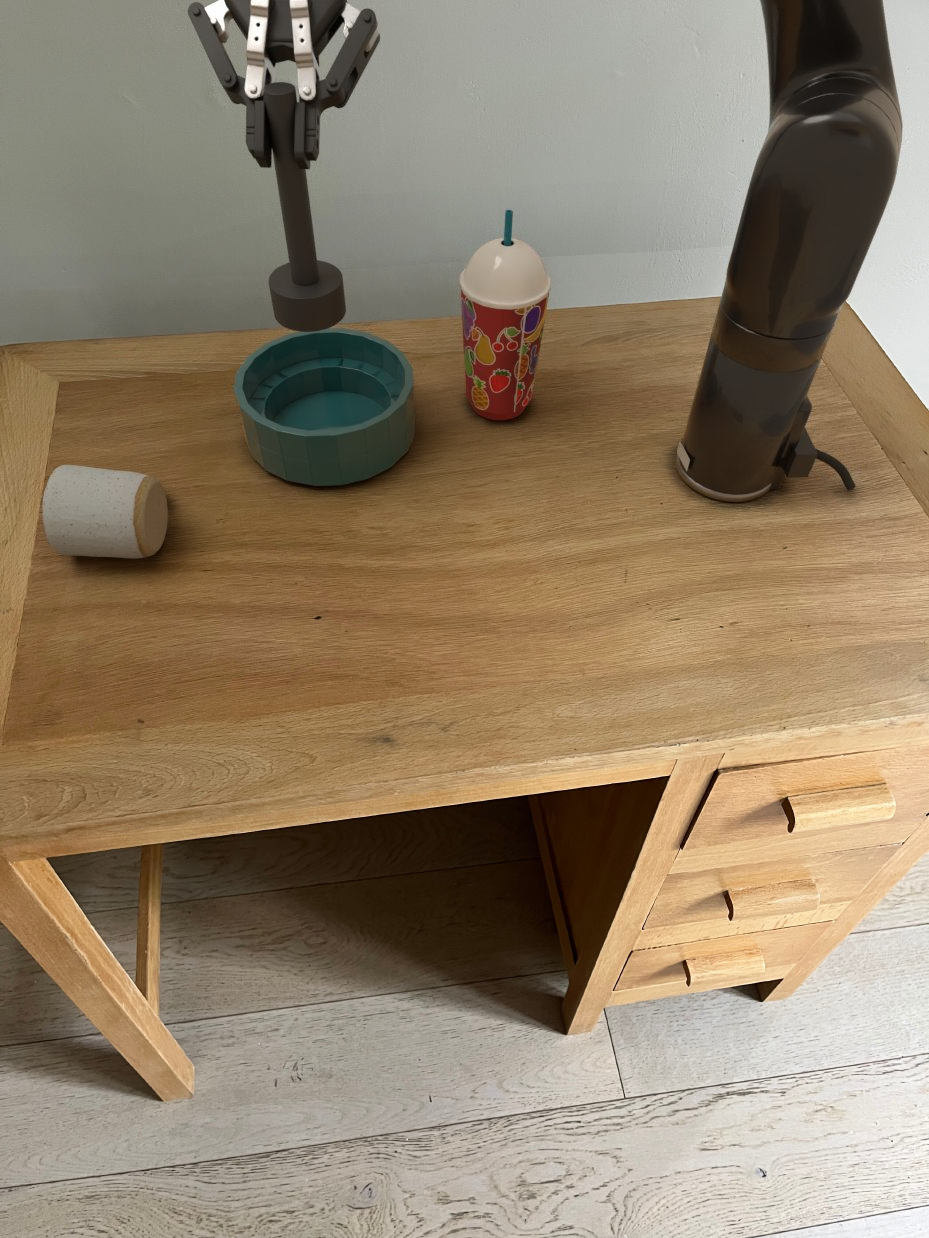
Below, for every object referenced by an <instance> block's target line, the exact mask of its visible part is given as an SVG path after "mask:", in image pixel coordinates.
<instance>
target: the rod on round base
mask: <svg viewBox="0 0 929 1238" xmlns="http://www.w3.org/2000/svg"><path fill="white" fill-rule="evenodd" d="M263 93H264V99H265V106H266V112H267V119H268V125H269V132H270V139H271V145H272V157H273V164H274V170H275V171H274V172H275V177H276V184H277V191H278V197H279V204H280V210H281V216H282V223H283V230H284V237H285V243H286V249H287V256H288V262H286V263H284V264H282V265H280V266H277V267H276V268H275V269H274V270H273V271H272V272H271V273H270V274H269V277H268V287H269V294H270V299H271V305H272V310H273V316H274V319H275V321H276V322H277V323H278V324H279V325H281V327H283V328H286V329H287V330H291V331H294V332H314V331H320V330H324V329H327V328H333V327H334V326H336V325H337V324H339V323H340V322H341V321H342V320H343V319H344V318H345V316H346V313H347V307H346V297H345V287H344V278H343V277H344V276H343V273H342V271H341V270H340V269H339V267H337V266H336V265H334V264H332V263H330V262H327V261H324V260H319V259H318V257H317V251H316V250H317V248H316V241H315V232H314V226H313V217H312V216H313V215H312V209H311V200H310V194H309V192H310V191H309V186H308V185H309V184H308V177H307V169H299V167H298V165H297V163H296V161H295V157H294V137H295V102H298V98H297V90H296V86H295V85H294V83H290V82H285V81H275V82H274V83H270V84H268V85H266V86H264V88H263Z"/></svg>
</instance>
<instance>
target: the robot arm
mask: <svg viewBox="0 0 929 1238" xmlns="http://www.w3.org/2000/svg"><path fill="white" fill-rule="evenodd" d="M759 2H760V3H759V4H760V7H761V12H762V17H763V24H764V31H765V32H764V33H765V38H766V51H767V53H766V55H767V66H768V67H767V68H768V88H769V91H768V92H769V93H768V94H769V116H768V117H769V118H768V119H769V120H768V130H767V133H766V136H765V139H764V141H763V143H762V146H761V149H760V150H759V153H758V156H757V158H756V162H755V165H754V166H753V171H752V174H751V177H750V180H749V185H748V187H747V192H746V195H745V200H744V204H743V207H742V209H741V215H740V219H739V223H738V226H737V230H736V234H735V237H734V241H733V245H732V248H731V249H732V250H731V252H730V257H729V260H728V263H727V268H726V276H725V280H724V286H723V289H722V293H721V298H720V301H719V304H718V307H717V311H716V315H715V318H714V322H713V326H712V329H711V334H710V337H709V341H708V344H707V348H706V352H705V356H704V360H703V362H702V366H701V370H700V373H699V378H698V381H697V385H696V389H695V392H694V396H693V398H692V403H691V406H690V410H689V413H688V418H687V421H686V425H685V429H684V432H683V436H682V438H681V440H680V441H679V443H678V446H677V450H676V454H677V455H676V458H675V468H676V470H677V474H678V475H679V477H680V478H681V480H682V481H683V482H684V483H685V484H686V485H687V486H689V487H690V488H691V489H692V490H694V491H695V492H697V493H699V494H701V495H703V496H705V497H707V498H709V499H710V498H711V499H714V500H718V501H722V502H730V503H731V502H732V503H741V502H748V501H752V500H755V499H758V498H760V497H762V496H764V495H765V494H767V492H769V490H779V489H781V487H782V484H783V482H784V479H785V477H786V478H787V479H798V478H799V479H801V478H808V477H809V476H810V474H811V472H812V469H813V467H814V464H815V462H816V460H818V461H820V462H822V463H824V464H826V465H828V466H829V467H830V468H832V469H833V470H834V471H835V472H836V473H837V475H838V476H839V478H840V479H841V482H842V484H843V486H844V487H845V489H846V491H847V492H851V491H852V490H855V488H856V486H857V485H856V483H855V481H854V480H853V479H854V478H853V477H852V475H851V473H850V472H849V470H848V468H847V467H846V466H845V465H844V464H843V463H842V462H841V461H840V460H839V459H838V458H836V457H835V456H833V455H831V454H829V453H827V452H825V451H822V450H820V449H818V448H816V447H815V445H814V443H813V441H812V439H811V437H810V435H809V433H808V430H807V428H806V426H807V423H808V420H809V417H810V416H811V413H812V410H813V404H812V402H811V399H810V398H809V396H808V394H809V391H810V389H811V386H812V384H813V381H814V379H815V377H816V374H817V371H818V368H819V366H820V364H821V361H822V359H823V356H824V353H825V351H826V349H827V345H828V343H829V341H830V338H831V335H832V333H833V330H834V328H835V326H836V323H837V320H838V318H839V316H840V313H841V312H842V311H841V310H842V308H843V306H844V304H845V303H846V302H847V300H849V299H848V298H849V297H850V295H851V294H852V290H853V289H854V286H855V283H856V281H857V278H858V276H859V274H860V271H861V269H862V266H863V264H864V262H865V260H866V256H867V255H868V252H869V250H870V247H871V245H872V243H873V241H874V238H875V235H876V233H877V230H878V228H879V225H880V223H881V221H882V218H883V215H884V214H885V210H886V208H887V206H888V203H889V200H890V197H891V195H892V192H893V188H894V185H895V182H896V177H897V173H898V166H899V161H900V154H901V147H902V143H903V129H904V128H903V126H904V125H903V123H904V122H903V116H902V111H901V105H900V100H899V95H898V89H897V84H896V83H897V82H896V77H895V72H894V67H893V63H892V62H893V61H892V55H891V48H890V42H889V36H888V28H887V22H886V21H887V19H886V14H885V13H886V12H885V6H884V0H759ZM187 15H188V17H189V20H190V22H191V24H192V26H193V28H194V31H195V32H196V34H197V36H198V39H199V40H200V42H201V45H202V47H203V49H204V51H205V54H206V55H207V58H208V61H209V62H210V65H211V66H212V69H213V70H214V73H215V75H216V77H217V79H218V81H219V84H220V85H221V87H222V89H223V91H225V93H226V95H227V97H228V98H229V100H230V102H231V103H232V104H235V105H243V106H245V109H246V110H245V145H246V147H247V151H248V152H249V153H250V155H251V156H252V158H253V159H254V160H255V161H256V163H257V164H258V166H259V167H260V168H263V169H271V168H272V161H273V159H272V157H273V152H272V145H271V139H270V132H269V125H268V119H267V112H266V106H265V99H264V93H263V88H264V86H266V85H268V84H270V83H275V82H277V75H278V65H279V63H283V62H286V61H287V62H288V61H289V62H292V63H295V66H296V75H297V90H298V101H297V102H295V137H294V157H295V161H296V163H297V165H298V167H299V169H306V170H310V169H311V162H317V160H318V158H319V155H320V138H321V137H320V136H321V133H320V132H321V116H322V114H323V112H324V111H326V110H327V109H330V108H333V107H334V108H336V109H342V108H345V107H346V106H347V104H348V101H349V100H350V99H351V96H352V94H353V92H354V91H355V89H356V87H357V85H358V83H359V81H360V79H361V78H362V76H363V74H364V72H365V70H366V68H367V66H368V64H369V62H370V61H371V59H372V57H373V56H374V53H375V52H376V50H377V47H378V45H379V43H380V42H381V33H380V27H379V24H378V19H377V15H376V13H375V11H374V10H373V9H371V8H363V9H362V10H360V9H359V8H357V7H355V6H354V5H352V4H350V3H348V0H217V1H215V2H213V3H210V4H209V5H207V6H204V4H202V3H201V2H199V1H198V2H197V1H195V2H192V3H191V4H189V6H188V8H187ZM232 19H233V21H234V22H235V24H236V26H237V27H238V29H239V30H240V32H241V33H242V35H243V37H244V38H245V40H246V41H247V42H246V53H245V55H246V72H245V77H243V76H240V75H238V74H237V73H238V72H237V71H236V69H235V67H234V64H233V63H232V60H231V58H230V56H229V53H228V52H227V49H226V48H225V45H224V44H226V43H227V42H228V40H229V37H230V30H229V24H230V21H231V20H232ZM343 24H344V25H343ZM342 25H343V27H342ZM341 27H342V33H343V37H344V41H343V44H342V46H340V47H341V48H340V50H339V51H338V53H337V55H336V57H335V59H334V61H333V63H332V64H331V67H330V68H329V70H328V71H327V74H326V76H325V78H324V79H322V67H321V54H322V53H323V51H325V49H326V47H327V46H328V45H329V43H331V40H332V39H333V38H334V36H335V35H336V33H337V32H338V31H339V29H340V28H341Z"/></svg>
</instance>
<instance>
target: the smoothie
mask: <svg viewBox="0 0 929 1238" xmlns="http://www.w3.org/2000/svg"><path fill="white" fill-rule="evenodd" d="M513 219H514V211H513V210H512V209H506V210H505V212H504V229H503V237H498V238H494V239H492V240H491V239H490V240H489V241H487V242H485V243H484V244H482V245H481V246H479V248H478V249H476V250H475V252H474V253H473V254H472V256H471V257H470V259H469V260H468V262H467V264H466V266H465V267H464V269H463V270H462V271H461V273H460V274H459V281H458V283H459V288H460V305H461V307H460V308H461V326H462V345H463V346H462V347H463V362H464V363H463V364H464V365H463V366H464V381H465V397H466V399H467V401H468V402H469V403H470V406H471V407H472V409H473V411H474V412H475V413H476V414H477V415H479V416H481V417H483V418H484V419H487V420H492V421H506V420H507V421H508V420H512V419H514V418H517V417H519V416H520V415H521V414H523V412H524V411H525V409H526V407H527V406H528V405H529V404H530V403H531V400H532V398H533V395H534V394H533V393H534V388H535V382H536V377H537V376H536V375H537V371H538V364H539V358H540V352H541V346H542V339H543V334H544V327H545V322H546V316H547V311H548V310H547V309H548V304H549V298H550V291H551V289H552V278H551V276H550V274H549V273H548V271H547V269H546V267H545V264H544V262H543V261H542V258H541V257H540V255H539V253H537V251H536V249H534V248H533V247H532V246H530V245H529V244H528V243H527V242H525V241H522V240H520V239H519V238H514V237H513V236H512V235H513Z"/></svg>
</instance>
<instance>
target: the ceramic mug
mask: <svg viewBox="0 0 929 1238" xmlns="http://www.w3.org/2000/svg"><path fill="white" fill-rule="evenodd" d="M41 507H42V523H43V528H44V532H45V535H46V538H47V541H48V543H49V545H50V546H51V548H52V549H53V550H54V551H55V552H56V553H58V554H59V555H63V556H73V557H74V556H76V557H77V556H78V557H79V556H80V557H97V558H98V557H99V558H121V559H142V558H148V557H152V556H154V555H155V554H157V553H158V551H159V550H160V549H161V547H162V546H163V544H164V541H165V539H166V534H167V530H168V521H169V520H168V519H169V509H168V508H169V507H168V500H167V495H166V491H165V489H164V486H163V485H162V484H161V482H160V481H159V480H158V479H157V478H156V477H153V476H151V475H148V474H144V473H141V472H135V471H128V470H127V471H126V470H114V469H107V468H99V467H91V466H84V465H76V464H62V465H60V466H57V467H56V468H55V469H54V470H53V471H52V473H51V474H50V476H49V478H48V480H47V484H46V485H45V488H44V493H43V498H42V506H41Z"/></svg>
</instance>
